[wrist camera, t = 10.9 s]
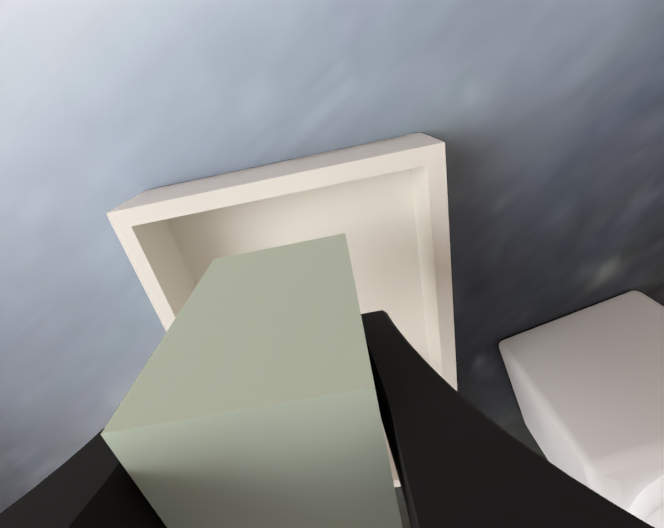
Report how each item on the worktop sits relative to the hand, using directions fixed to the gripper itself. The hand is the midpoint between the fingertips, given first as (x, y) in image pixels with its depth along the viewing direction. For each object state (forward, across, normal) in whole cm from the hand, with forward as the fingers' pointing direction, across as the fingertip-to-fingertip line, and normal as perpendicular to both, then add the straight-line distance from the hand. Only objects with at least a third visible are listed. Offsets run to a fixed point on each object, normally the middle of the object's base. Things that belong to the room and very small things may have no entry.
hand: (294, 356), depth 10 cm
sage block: (+2, 0, 0) cm, 2 cm away
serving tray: (+7, 0, +4) cm, 8 cm away
